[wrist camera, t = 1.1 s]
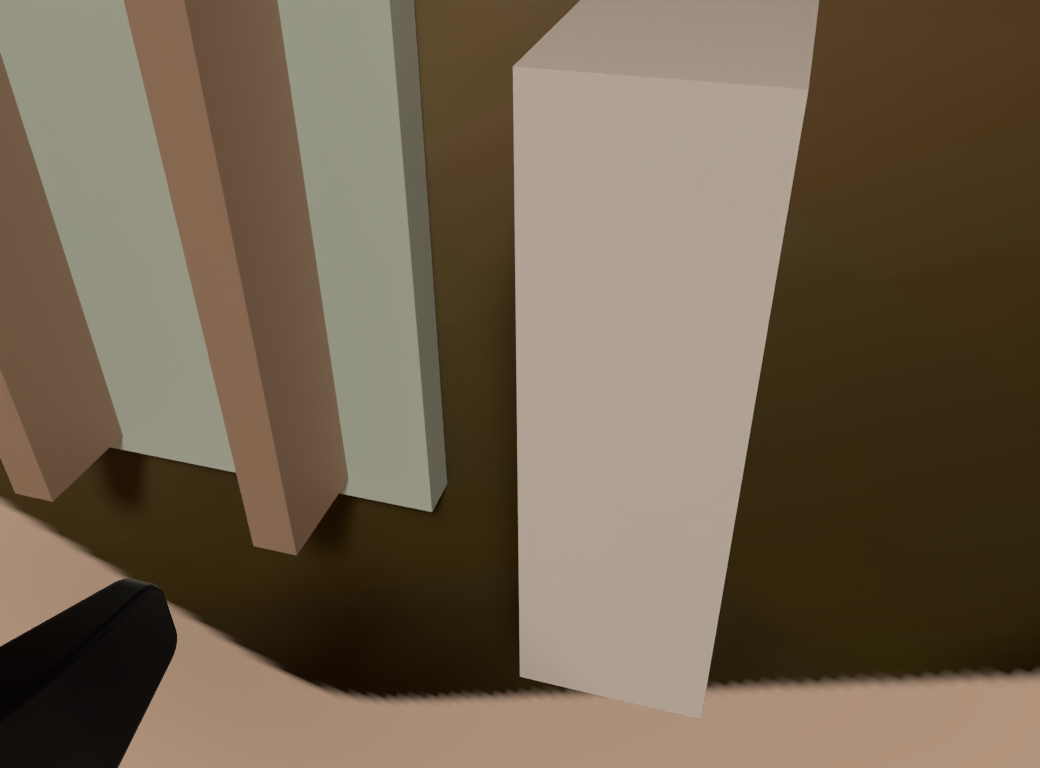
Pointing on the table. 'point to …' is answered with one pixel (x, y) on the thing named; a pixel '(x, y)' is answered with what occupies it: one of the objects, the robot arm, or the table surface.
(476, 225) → the table surface
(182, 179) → the slotted stand
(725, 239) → the grey rectangular block
